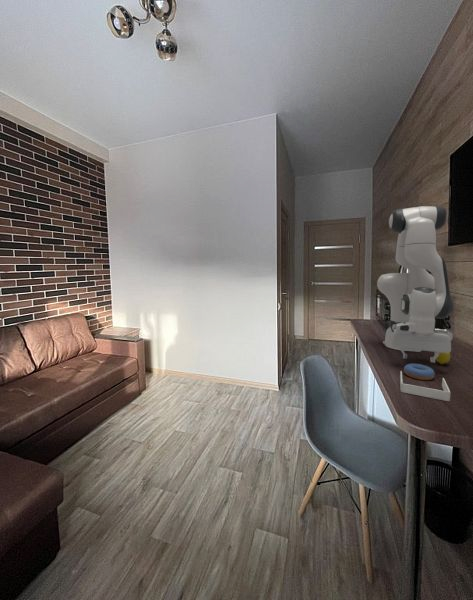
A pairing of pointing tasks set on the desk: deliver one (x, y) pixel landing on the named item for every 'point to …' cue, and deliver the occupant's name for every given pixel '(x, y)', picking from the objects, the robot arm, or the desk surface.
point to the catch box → (426, 390)
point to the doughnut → (419, 371)
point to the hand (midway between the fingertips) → (418, 360)
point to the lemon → (443, 358)
